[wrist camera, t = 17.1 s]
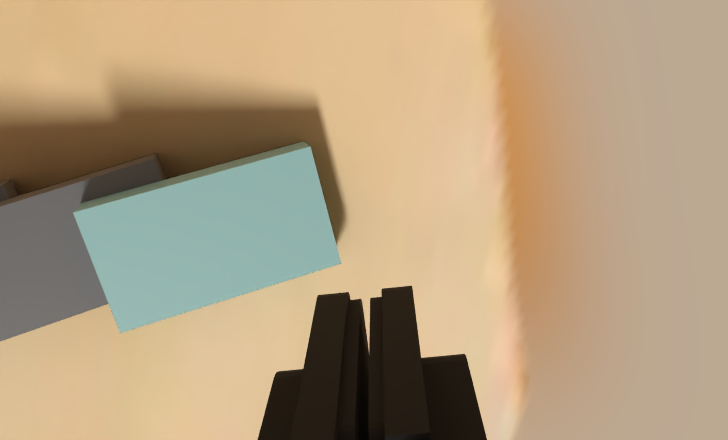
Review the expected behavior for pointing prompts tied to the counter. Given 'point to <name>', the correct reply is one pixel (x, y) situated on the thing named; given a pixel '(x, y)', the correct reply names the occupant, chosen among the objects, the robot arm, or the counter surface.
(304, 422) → the robot arm
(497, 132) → the counter surface
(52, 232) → the domino
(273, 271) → the teal domino
